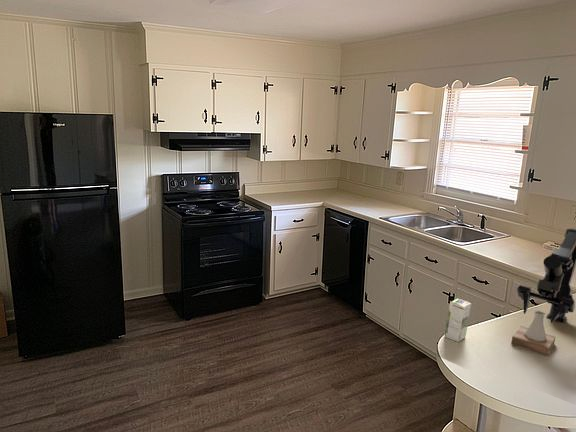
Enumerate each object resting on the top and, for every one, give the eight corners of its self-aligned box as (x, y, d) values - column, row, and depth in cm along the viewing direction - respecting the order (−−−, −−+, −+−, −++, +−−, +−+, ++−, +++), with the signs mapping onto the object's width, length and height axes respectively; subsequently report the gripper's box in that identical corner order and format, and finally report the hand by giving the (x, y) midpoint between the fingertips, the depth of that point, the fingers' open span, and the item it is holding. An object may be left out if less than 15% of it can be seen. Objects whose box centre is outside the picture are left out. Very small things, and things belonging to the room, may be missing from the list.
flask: (532, 331, 171) (537, 307, 168) (550, 340, 164) (555, 315, 162) (519, 334, 167) (524, 310, 165) (537, 343, 161) (542, 318, 159)
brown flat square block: (519, 332, 175) (520, 325, 175) (554, 344, 168) (555, 336, 167) (511, 343, 166) (512, 336, 166) (547, 356, 159) (548, 348, 158)
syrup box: (451, 332, 173) (456, 297, 169) (465, 338, 169) (471, 302, 165) (444, 336, 169) (449, 301, 166) (459, 343, 165) (464, 306, 161)
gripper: (523, 264, 170) (508, 299, 165) (579, 279, 158) (565, 316, 153) (526, 279, 178) (511, 312, 172) (580, 293, 165) (566, 330, 160)
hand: (537, 317), depth 164 cm, fingers open, 9 cm apart
